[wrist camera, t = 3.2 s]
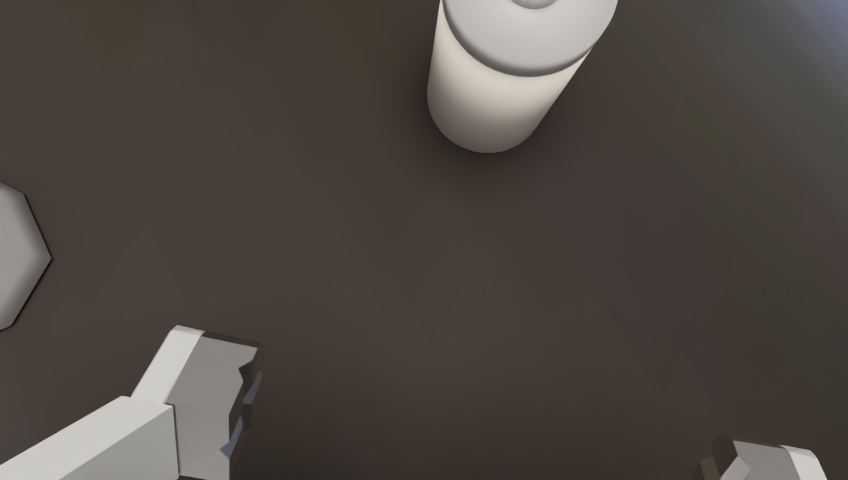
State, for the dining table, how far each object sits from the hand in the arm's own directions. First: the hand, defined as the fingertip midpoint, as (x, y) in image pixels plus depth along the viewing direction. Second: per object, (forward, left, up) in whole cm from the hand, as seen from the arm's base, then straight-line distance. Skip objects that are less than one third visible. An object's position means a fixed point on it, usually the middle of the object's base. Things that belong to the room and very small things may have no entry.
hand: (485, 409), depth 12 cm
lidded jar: (-7, -9, -14) cm, 18 cm away
